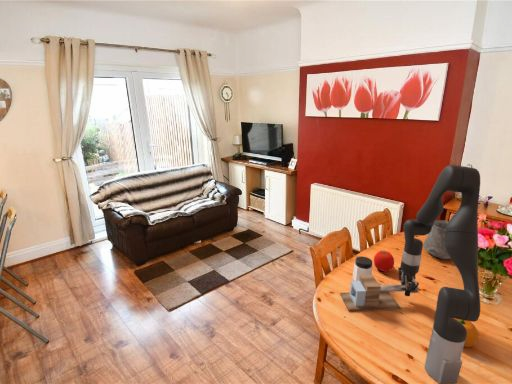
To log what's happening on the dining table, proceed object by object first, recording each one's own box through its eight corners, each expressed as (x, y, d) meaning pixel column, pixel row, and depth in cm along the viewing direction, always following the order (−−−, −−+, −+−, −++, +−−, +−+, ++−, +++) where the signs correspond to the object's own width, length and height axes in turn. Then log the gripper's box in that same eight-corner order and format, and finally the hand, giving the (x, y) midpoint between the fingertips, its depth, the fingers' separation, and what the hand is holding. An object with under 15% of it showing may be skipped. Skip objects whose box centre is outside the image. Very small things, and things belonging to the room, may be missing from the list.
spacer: (364, 305, 135) (366, 291, 133) (355, 306, 135) (357, 291, 132) (357, 294, 143) (359, 280, 140) (349, 295, 142) (351, 280, 140)
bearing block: (400, 309, 134) (404, 287, 131) (348, 311, 133) (351, 289, 129) (388, 292, 146) (391, 272, 142) (340, 294, 144) (342, 274, 141)
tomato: (390, 265, 169) (393, 248, 166) (394, 275, 160) (397, 257, 156) (371, 263, 172) (373, 246, 169) (373, 272, 162) (376, 255, 159)
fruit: (434, 333, 120) (439, 313, 117) (453, 325, 125) (458, 305, 122) (463, 355, 110) (469, 333, 107) (483, 345, 115) (489, 324, 112)
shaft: (411, 288, 141) (413, 280, 140) (417, 294, 137) (418, 286, 135) (362, 290, 140) (363, 282, 138) (366, 296, 136) (367, 288, 134)
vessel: (411, 251, 185) (416, 221, 179) (433, 243, 195) (438, 215, 189) (446, 267, 167) (453, 235, 161) (468, 258, 177) (475, 227, 171)
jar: (362, 287, 150) (365, 266, 146) (349, 279, 156) (351, 259, 153) (373, 281, 155) (376, 261, 151) (360, 274, 161) (362, 254, 158)
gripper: (428, 269, 127) (421, 302, 132) (410, 252, 140) (404, 284, 146) (411, 269, 127) (405, 303, 132) (395, 253, 140) (389, 284, 145)
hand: (404, 293), depth 139 cm, fingers closed on shaft, 3 cm apart
